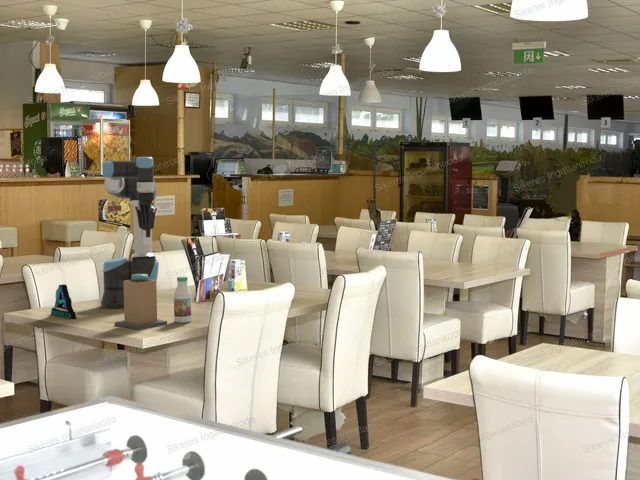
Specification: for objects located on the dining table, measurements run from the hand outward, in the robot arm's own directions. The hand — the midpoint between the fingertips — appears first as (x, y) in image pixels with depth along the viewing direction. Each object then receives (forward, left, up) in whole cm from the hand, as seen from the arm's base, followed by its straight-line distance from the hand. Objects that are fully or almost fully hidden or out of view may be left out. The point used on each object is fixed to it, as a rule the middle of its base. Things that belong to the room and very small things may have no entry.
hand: (146, 244), depth 400 cm
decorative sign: (-35, -21, -34) cm, 54 cm away
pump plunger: (+10, -11, -31) cm, 34 cm away
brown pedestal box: (+8, -11, -34) cm, 37 cm away
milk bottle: (+16, +6, -34) cm, 39 cm away
